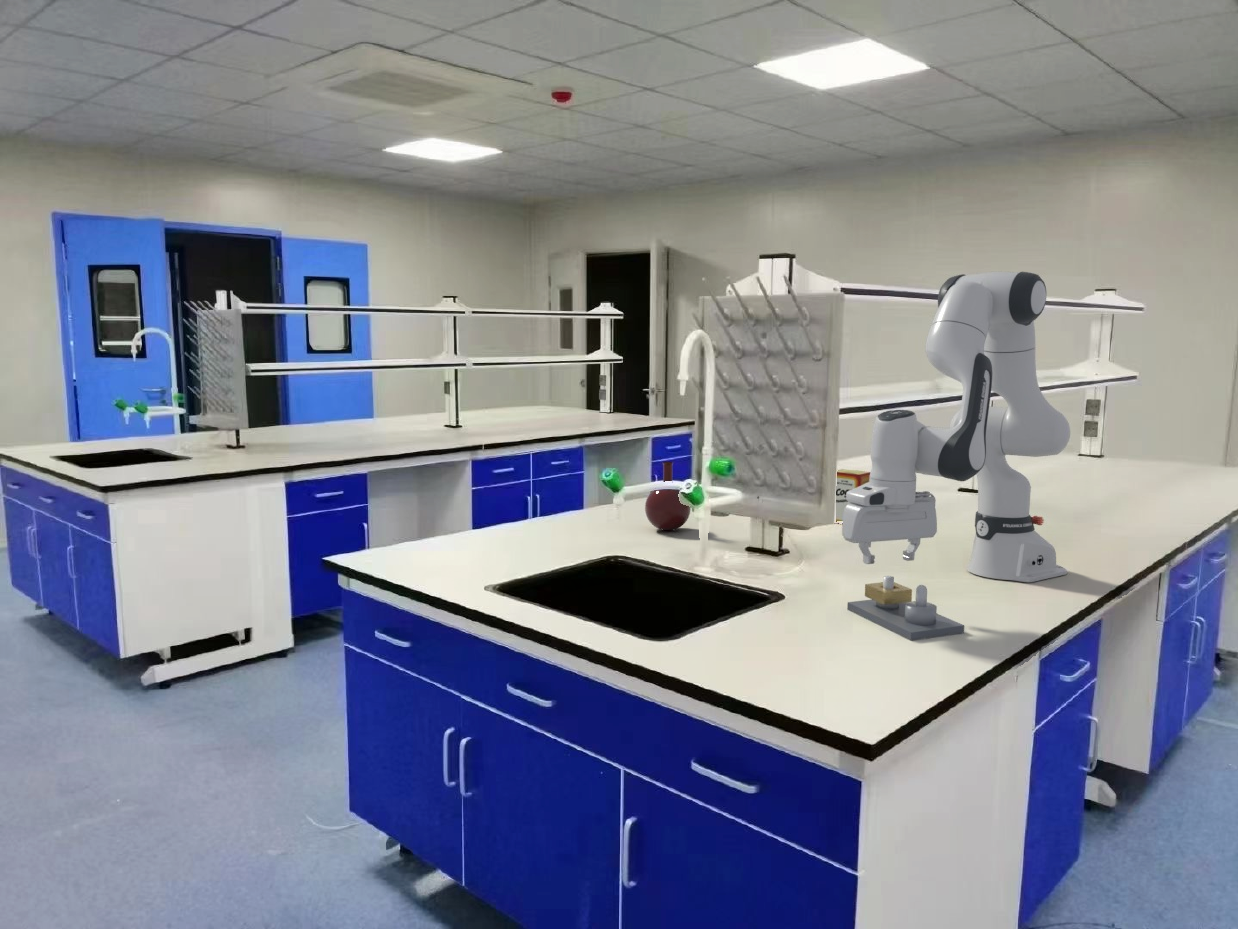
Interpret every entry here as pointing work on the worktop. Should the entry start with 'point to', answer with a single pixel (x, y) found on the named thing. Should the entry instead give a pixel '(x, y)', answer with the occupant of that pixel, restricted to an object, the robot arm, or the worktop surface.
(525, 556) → the worktop surface
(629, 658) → the worktop surface
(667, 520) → the round-bottom flask
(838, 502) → the baking soda box
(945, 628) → the mount board
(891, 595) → the tan square ring
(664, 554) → the worktop surface
